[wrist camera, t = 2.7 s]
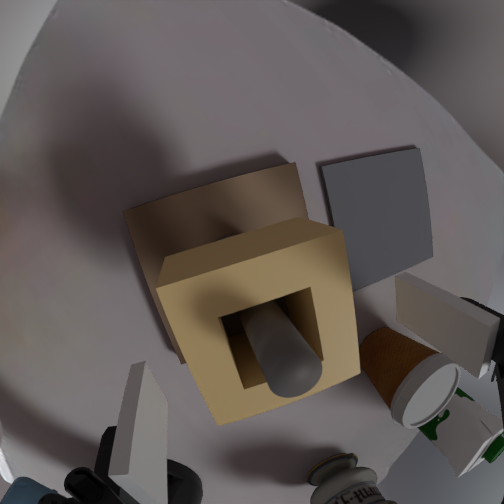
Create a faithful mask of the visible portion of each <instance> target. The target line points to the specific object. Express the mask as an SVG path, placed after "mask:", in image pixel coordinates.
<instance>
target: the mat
mask: <svg viewBox="0 0 504 504" xmlns="http://www.w3.org/2000/svg"><path fill="white" fill-rule="evenodd" d="M320 170H321V174H322V179H323V183H324V188H325V192H326V197H327V201H328V206H329V211H330V216H331V221H332V226H333V227H335V228H338V229H341V230H343V234H344V240H345V246H346V252H347V258H348V264H349V271H350V278H351V285H352V292H354V291H356V290H358V289H361V288H363V287H366V286H368V285H370V284H373V283H375V282H378V281H380V280H382V279H385V278H387V277H389V276H391V275H394V274H396V273H398V272H400V271H403V270H405V269H407V268H409V267H412V266H414V265H416V264H418V263H420V262H422V261H425V260H427V259H429V258H431V257H433V245H432V231H431V220H430V210H429V202H428V194H427V187H426V181H425V174H424V169H423V163H422V158H421V152H420V148H415V149H409V150H403V151H397V152H391V153H385V154H380V155H375V156H369V157H364V158H359V159H354V160H349V161H344V162H340V163H335V164H330V165H326V166H321V167H320Z"/></svg>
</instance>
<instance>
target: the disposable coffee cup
mask: <svg viewBox="0 0 504 504" xmlns="http://www.w3.org/2000/svg"><path fill="white" fill-rule="evenodd" d="M359 360H360V365H361V367H362V368H363V370H364V371H365V373H366V374H367V376H368V377H369V379H370V380H371V382H372V383H373V385H374V386H375V388H376V389H377V391H378V392H379V394H380V395H381V397H382V398H383V400H384V401H385V403H386V404H387V406H388V407H389V409H390V410H391V414H392V415H391V416H392V419H393V421H394V422H395V423H396V424H397V425H401V426H404V427H406V428H409V429H413V428H417V427H420V426H422V425H424V424H425V423H427V422H429V421H430V420H431V419H433V418H434V417H435V416H436V415H437V414H438V413H439V412H440V411H441V410H442V409H443V408H444V407H445V406H446V405H447V403H448V402H449V401H450V399H451V398H452V396H453V395H454V393H455V391H456V389H457V386H458V384H459V381H460V376H461V373H460V372H461V371H460V367H459V365H458V364H457V363H456V362H454V361H453V360H452V359H450V358H449V357H447V356H446V355H445V354H443V353H439V352H437V351H435V350H433V349H431V348H428V347H427V346H425V345H422V344H421V343H418V342H416V341H414V340H412V339H411V338H408V337H406V336H404V335H402V334H400V333H398V332H396V331H394V330H392V329H390V328H380V329H377V330H376V331H374V332H373V333H371V334H370V335H369V336H368V337H367V338H366V339H365V340H364V342H363V343H362V345H361V347H360V349H359Z"/></svg>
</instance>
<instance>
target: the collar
mask: <svg viewBox="0 0 504 504" xmlns="http://www.w3.org/2000/svg"><path fill="white" fill-rule="evenodd" d="M156 291H157V293H158V296H159V298H160V301H161V304H162V306H163V309H164V311H165V314H166V316H167V319H168V321H169V323H170V326H171V328H172V331H173V333H174V335H175V338H176V340H177V342H178V345H179V347H180V349H181V351H182V354H183V356H184V358H185V360H186V363H187V365H188V367H189V369H190V371H191V373H192V375H193V378H194V380H195V382H196V384H197V386H198V388H199V390H200V392H201V394H202V396H203V398H204V400H205V402H206V404H207V406H208V408H209V410H210V412H211V414H212V416H213V418H214V419H215V421H216V423H217V425H218V426H220V425H224V424H228V423H231V422H235V421H238V420H241V419H245V418H248V417H251V416H254V415H257V414H261V413H264V412H267V411H269V410H272V409H275V408H278V407H281V406H284V405H286V404H289V403H292V402H295V401H297V400H300V399H302V398H305V397H307V396H310V395H312V394H315V393H317V392H320V391H322V390H324V389H327V388H329V387H331V386H334V385H336V384H338V383H340V382H343V381H345V380H347V379H349V378H351V377H353V376H356V375H358V374H360V360H359V348H358V337H357V326H356V317H355V308H354V300H353V292H352V285H351V278H350V271H349V264H348V258H347V252H346V246H345V240H344V234H343V230H341V229H338V228H335V227H332V226H328V225H325V224H322V223H318V222H315V221H312V220H308V219H305V218H301V217H296V218H292V219H289V220H286V221H282V222H279V223H275V224H272V225H269V226H265V227H262V228H258V229H255V230H252V231H248V232H245V233H242V234H238V235H235V236H232V237H228V238H225V239H222V240H218V241H215V242H212V243H209V244H205V245H202V246H199V247H196V248H192V249H189V250H186V251H183V252H180V253H176V254H173V255H170V256H167V257H165V260H164V263H163V266H162V269H161V272H160V276H159V279H158V282H157V286H156ZM282 296H285V299H286V304H287V308H288V312H289V316H290V317H289V318H288V319H289V320H290V321H291V323H292V324H293V325H294V327H295V328H296V329H297V331H298V332H299V333H300V334H301V336H302V337H303V338H304V340H305V341H306V342H307V343H308V345H309V346H310V347H311V349H312V350H313V351H314V352H315V354H316V355H317V356H318V358H319V359H320V360H321V363H322V368H323V369H322V375H321V377H320V379H319V381H318V382H317V384H316V385H315V386H314V387H313V388H312V389H311V390H309V391H308V392H306V393H304V394H302V395H300V396H297V397H292V398H284V397H280V396H277V395H275V394H274V393H273V392H272V391H271V390H270V388H269V386H268V384H267V382H266V379H265V377H264V375H263V372H262V370H261V368H260V365H259V363H258V361H257V358H256V356H255V354H254V351H253V349H252V347H251V344H250V342H249V339H248V337H247V335H246V332H245V333H242V334H239V335H235V336H232V337H229V338H228V335H227V332H226V330H225V327H224V324H223V321H222V318H221V316H224V315H228V314H231V313H234V312H237V311H240V310H243V309H246V308H249V307H252V306H255V305H258V304H261V303H264V302H267V301H270V300H273V299H276V298H279V297H282Z"/></svg>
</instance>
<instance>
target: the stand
mask: <svg viewBox="0 0 504 504" xmlns="http://www.w3.org/2000/svg"><path fill="white" fill-rule="evenodd" d="M123 213H124V216H125V219H126V223H127V226H128V229H129V232H130V235H131V238H132V241H133V244H134V247H135V250H136V253H137V256H138V259H139V262H140V265H141V267H142V270H143V273H144V276H145V278H146V281H147V284H148V286H149V289H150V292H151V294H152V297H153V299H154V302H155V304H156V307H157V309H158V312H159V314H160V317H161V319H162V322H163V324H164V326H165V329H166V331H167V333H168V336H169V338H170V340H171V343H172V345H173V347H174V349H175V352H176V354H177V356H178V358H179V360H180V362H181V364H184V363H186V360H185V358H184V356H183V354H182V351H181V349H180V347H179V345H178V342H177V340H176V338H175V335H174V333H173V331H172V328H171V326H170V323H169V321H168V319H167V316H166V314H165V311H164V309H163V306H162V304H161V301H160V298H159V296H158V293H157V291H156V286H157V282H158V279H159V276H160V272H161V269H162V266H163V263H164V260H165V257H167V256H170V255H173V254H176V253H180V252H183V251H186V250H189V249H192V248H196V247H199V246H202V245H205V244H209V243H212V242H215V241H218V240H222V239H225V238H228V237H232V236H235V235H238V234H242V233H245V232H248V231H252V230H255V229H258V228H262V227H265V226H269V225H272V224H275V223H279V222H282V221H286V220H289V219H292V218H296V217H301V218H305V219H308V220H309V218H308V213H307V209H306V204H305V200H304V196H303V191H302V187H301V183H300V179H299V175H298V171H297V167H296V163H295V162H293V163H289V164H284V165H280V166H276V167H272V168H267V169H263V170H259V171H255V172H251V173H248V174H244V175H240V176H236V177H232V178H229V179H225V180H221V181H218V182H214V183H211V184H207V185H204V186H200V187H197V188H194V189H190V190H187V191H184V192H180V193H177V194H174V195H171V196H167V197H164V198H161V199H158V200H155V201H152V202H149V203H146V204H143V205H140V206H137V207H134V208H131V209H128V210H126V211H123ZM289 317H290V316H289V312H288V308H287V304H286V299H285V296H282V297H279V298H276V299H273V300H270V301H267V302H264V303H261V304H258V305H255V306H252V307H249V308H246V309H243V310H240V311H237V312H234V313H231V314H228V315H224V316H221V318H222V321H223V324H224V327H225V330H226V332H227V335H228V338H229V337H232V336H235V335H239V334H242V333H245V332H246V335H247V337H248V339H249V342H250V344H251V347H252V349H253V351H254V354H255V356H256V358H257V361H258V363H259V365H260V368H261V370H262V372H263V375H264V377H265V379H266V382H267V384H268V386H269V388H270V390H271V391H272V392H273V393H274V394H275V395H277V396H280V397H284V398H292V397H297V396H300V395H302V394H304V393H306V392H308V391H309V390H311V389H312V388H313V387H314V386H315V385H316V384H317V382H318V381H319V379H320V377H321V375H322V369H323V368H322V363H321V360H320V359H319V358H318V356H317V355H316V354H315V352H314V351H313V350H312V349H311V347H310V346H309V345H308V343H307V342H306V341H305V340H304V338H303V337H302V336H301V334H300V333H299V332H298V331H297V329H296V328H295V327H294V325H293V324H292V323H291V321H290V320H289V319H288V318H289Z"/></svg>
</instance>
